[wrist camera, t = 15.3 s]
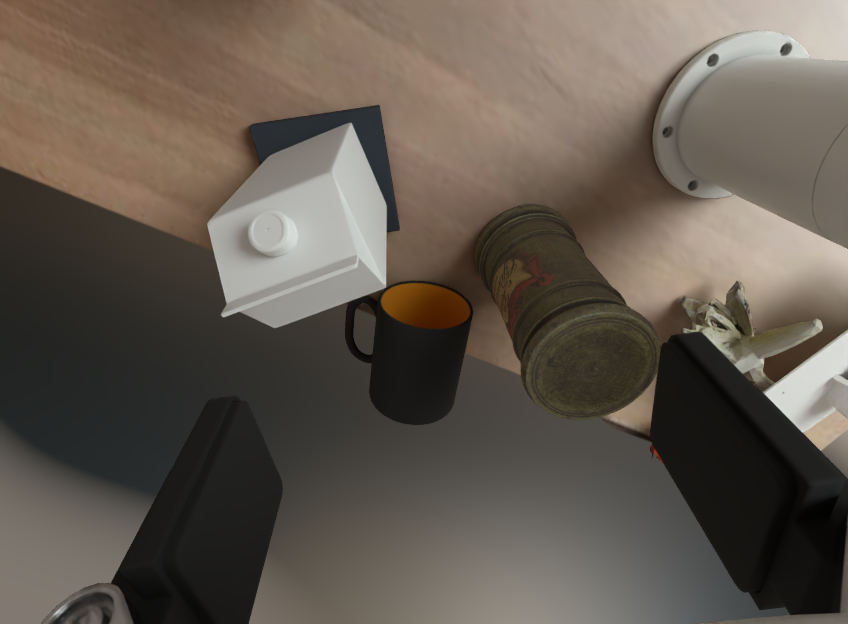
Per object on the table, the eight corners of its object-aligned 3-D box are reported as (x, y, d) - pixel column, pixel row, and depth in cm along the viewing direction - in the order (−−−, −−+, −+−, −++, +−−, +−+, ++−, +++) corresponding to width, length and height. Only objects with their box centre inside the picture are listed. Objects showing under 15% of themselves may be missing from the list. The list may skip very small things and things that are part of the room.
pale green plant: (613, 315, 52) (760, 242, 41) (698, 350, 59) (842, 296, 48) (629, 392, 47) (798, 333, 36) (719, 420, 54) (883, 378, 44)
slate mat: (379, 104, 37) (379, 106, 36) (399, 226, 42) (399, 230, 42) (252, 124, 37) (248, 126, 37) (287, 242, 43) (285, 247, 42)
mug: (364, 346, 53) (371, 260, 47) (466, 387, 49) (486, 299, 44) (319, 387, 46) (321, 293, 41) (432, 438, 42) (451, 342, 37)
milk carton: (387, 205, 40) (386, 325, 24) (310, 235, 41) (259, 370, 25) (351, 120, 37) (322, 194, 21) (268, 155, 38) (176, 252, 21)
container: (569, 194, 42) (675, 291, 26) (571, 284, 47) (663, 412, 31) (467, 214, 42) (513, 321, 27) (479, 301, 47) (524, 436, 31)
